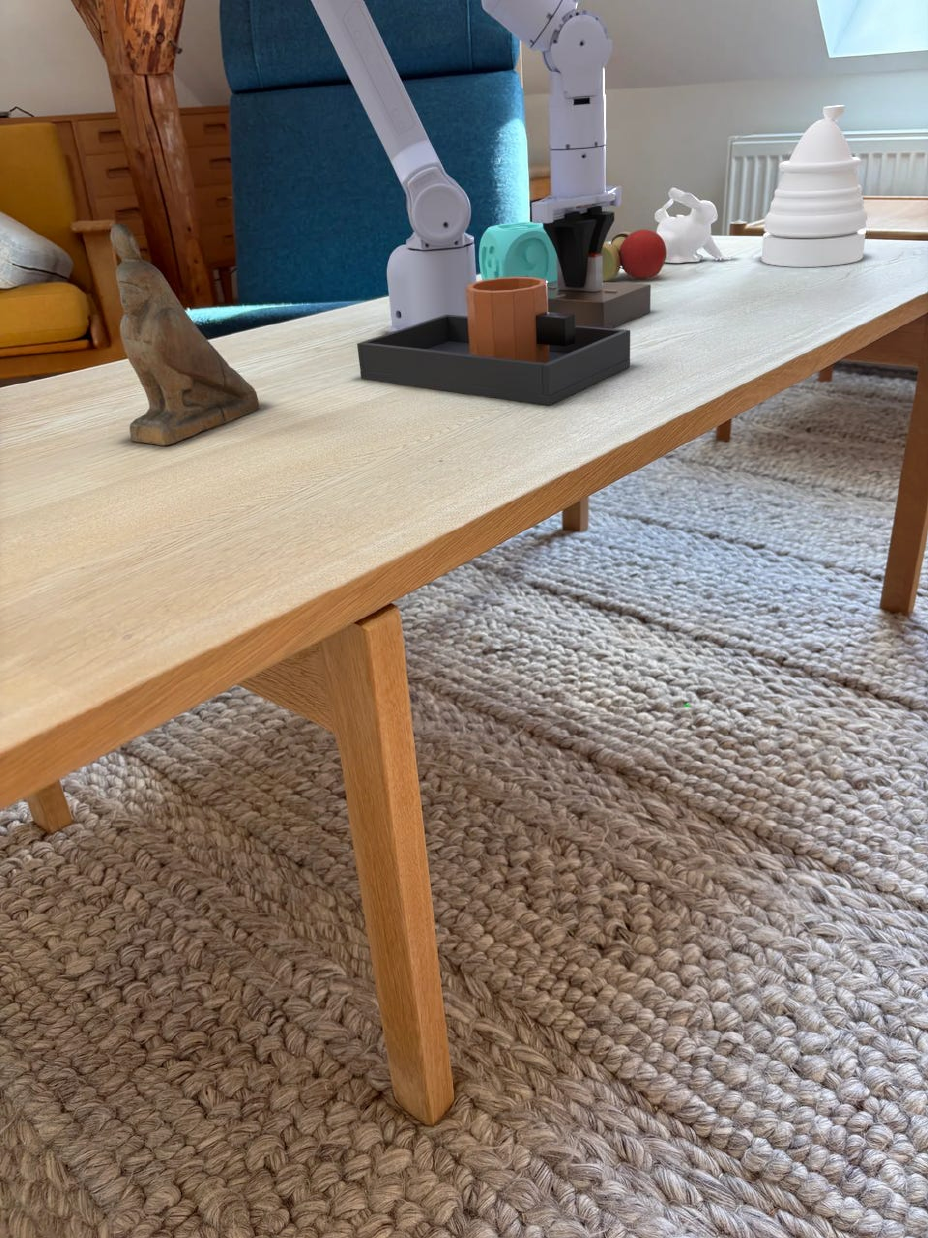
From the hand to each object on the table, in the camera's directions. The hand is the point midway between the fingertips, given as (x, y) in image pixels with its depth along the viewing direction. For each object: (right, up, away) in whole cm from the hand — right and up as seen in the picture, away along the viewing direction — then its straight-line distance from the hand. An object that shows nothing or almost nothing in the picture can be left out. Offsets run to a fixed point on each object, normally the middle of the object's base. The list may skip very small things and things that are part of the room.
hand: (579, 285), depth 107 cm
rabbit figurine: (+18, +13, +29) cm, 37 cm away
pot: (-7, -14, -19) cm, 25 cm away
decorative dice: (-5, +5, +17) cm, 18 cm away
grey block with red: (0, 0, 0) cm, 0 cm away
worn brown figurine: (-35, -20, -24) cm, 47 cm away
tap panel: (0, -3, +2) cm, 3 cm away
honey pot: (+34, +12, +24) cm, 43 cm away
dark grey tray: (-10, -14, -17) cm, 24 cm away
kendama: (+6, +9, +23) cm, 26 cm away
